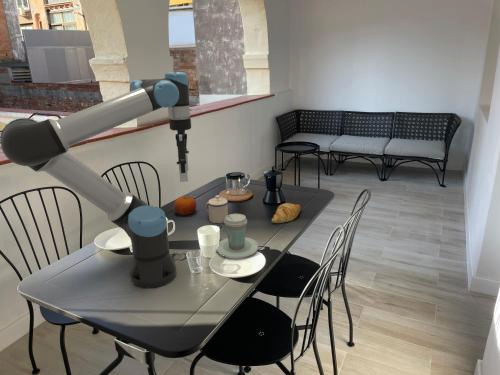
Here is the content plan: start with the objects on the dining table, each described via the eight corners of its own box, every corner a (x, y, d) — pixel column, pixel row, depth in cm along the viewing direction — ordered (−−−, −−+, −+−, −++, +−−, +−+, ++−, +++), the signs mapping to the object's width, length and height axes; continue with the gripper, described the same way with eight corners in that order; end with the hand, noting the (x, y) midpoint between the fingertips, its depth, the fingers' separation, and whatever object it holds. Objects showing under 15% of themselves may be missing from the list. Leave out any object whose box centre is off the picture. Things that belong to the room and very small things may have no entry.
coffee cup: (228, 240, 145) (227, 212, 141) (250, 242, 143) (249, 213, 139) (222, 250, 137) (221, 221, 133) (245, 252, 135) (244, 222, 131)
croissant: (277, 233, 161) (284, 221, 157) (261, 218, 165) (268, 206, 161) (304, 217, 176) (311, 205, 172) (288, 204, 180) (295, 192, 176)
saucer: (217, 262, 132) (217, 257, 132) (215, 241, 147) (215, 238, 147) (261, 257, 135) (261, 253, 134) (254, 238, 150) (254, 234, 149)
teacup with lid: (232, 218, 169) (231, 194, 166) (219, 225, 162) (218, 200, 159) (213, 213, 176) (212, 190, 172) (200, 219, 169) (198, 195, 165)
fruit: (170, 214, 175) (168, 198, 173) (185, 207, 184) (184, 192, 181) (186, 219, 170) (185, 203, 167) (201, 211, 178) (200, 196, 175)
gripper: (190, 122, 118) (195, 185, 125) (190, 113, 141) (194, 166, 148) (166, 123, 117) (172, 187, 124) (170, 113, 140) (175, 167, 147)
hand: (184, 175), depth 136 cm, fingers open, 13 cm apart
